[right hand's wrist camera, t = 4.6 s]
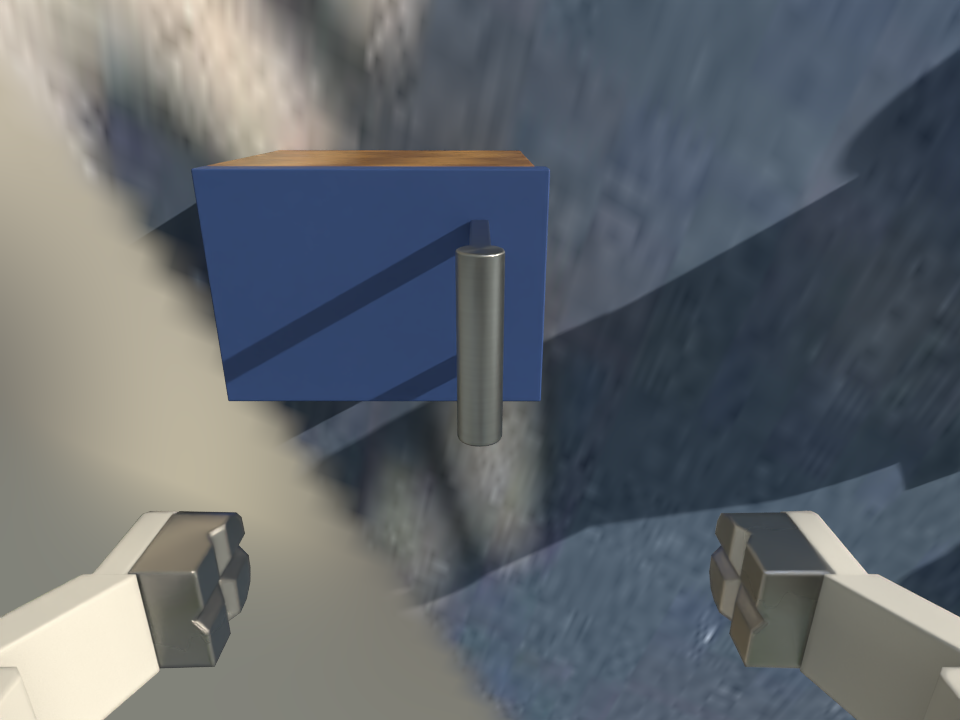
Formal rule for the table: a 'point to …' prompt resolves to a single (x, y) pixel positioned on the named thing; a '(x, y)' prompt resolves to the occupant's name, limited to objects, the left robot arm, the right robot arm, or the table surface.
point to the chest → (382, 158)
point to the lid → (379, 284)
